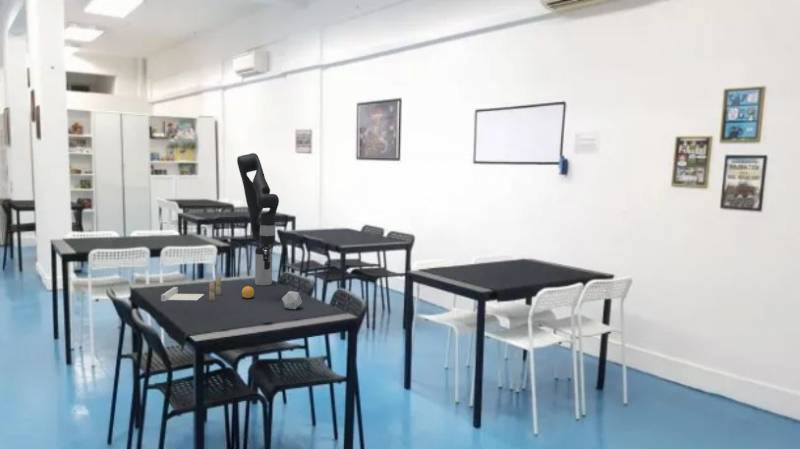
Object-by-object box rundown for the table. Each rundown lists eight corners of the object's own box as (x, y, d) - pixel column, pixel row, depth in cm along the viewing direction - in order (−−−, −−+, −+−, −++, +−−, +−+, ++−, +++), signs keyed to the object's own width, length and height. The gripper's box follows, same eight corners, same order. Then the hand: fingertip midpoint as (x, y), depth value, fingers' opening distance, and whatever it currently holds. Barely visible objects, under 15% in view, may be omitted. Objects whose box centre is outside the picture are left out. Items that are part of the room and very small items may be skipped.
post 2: (216, 294, 306) (216, 276, 305) (221, 294, 306) (221, 276, 305) (215, 295, 304) (215, 277, 303) (220, 295, 304) (220, 277, 303)
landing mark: (176, 294, 304) (176, 293, 304) (204, 294, 305) (204, 294, 305) (167, 300, 290) (167, 299, 290) (196, 300, 291) (197, 300, 291)
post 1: (209, 299, 293) (210, 281, 292) (214, 300, 293) (215, 281, 292) (208, 301, 290) (208, 282, 289) (213, 301, 290) (213, 282, 290)
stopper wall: (173, 292, 306) (173, 287, 306) (177, 292, 307) (177, 287, 306) (161, 301, 287) (161, 295, 286) (165, 301, 287) (165, 295, 286)
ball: (242, 296, 302) (242, 284, 302) (255, 296, 303) (255, 285, 302) (240, 299, 296) (240, 287, 296) (252, 299, 297) (253, 287, 296)
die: (286, 312, 274) (299, 296, 274) (275, 301, 278) (288, 284, 278) (295, 315, 282) (308, 299, 281) (284, 304, 286) (297, 288, 286)
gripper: (262, 232, 303) (261, 266, 304) (257, 235, 289) (257, 271, 290) (277, 232, 304) (276, 266, 305) (273, 236, 289) (272, 271, 291)
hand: (267, 268), depth 298 cm, fingers open, 3 cm apart
